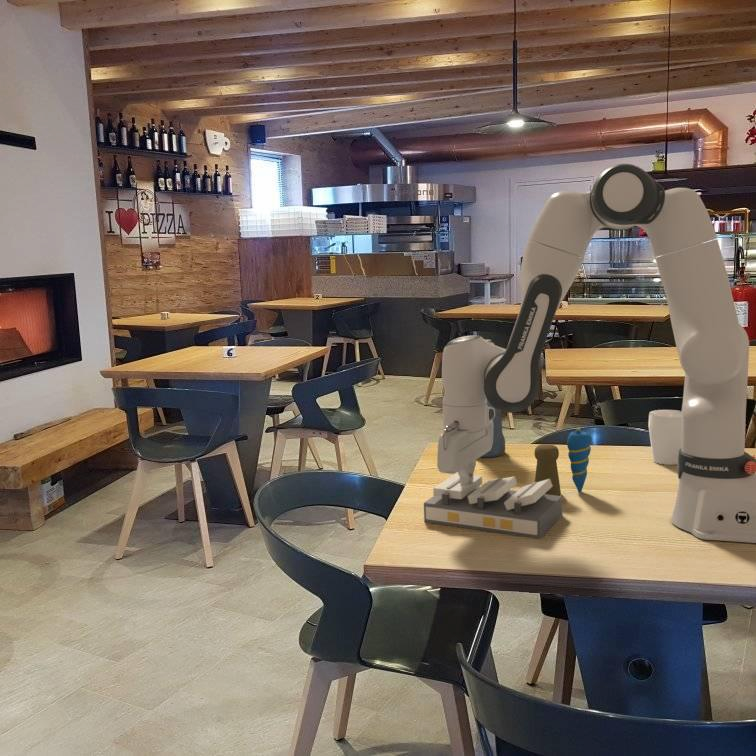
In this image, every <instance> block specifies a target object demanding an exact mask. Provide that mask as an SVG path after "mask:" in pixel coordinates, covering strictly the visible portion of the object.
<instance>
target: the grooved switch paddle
mask: <svg viewBox="0 0 756 756" xmlns="http://www.w3.org/2000/svg"><path fill="white" fill-rule="evenodd" d="M482 485H483V476H482V475H475V474H473V481H472V482H471V483H469V484H468V485H461V484H460V476H459V474H458V472H456V473H455V474H451V476H450V477H448V478H446V479H445V480H444V481H442V482H440V483H439V484H437V485H435V486H434V487H433V488H432V490H433V491H432V492H433V496H440V497H442V493H447V494H449V498H455V499H462V498H463V497H465V496H466V495H468V494H469V493H470V492H472V491H473V490H474V489H476V488H477V487H478V486H480V487H481V486H482Z"/></svg>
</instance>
